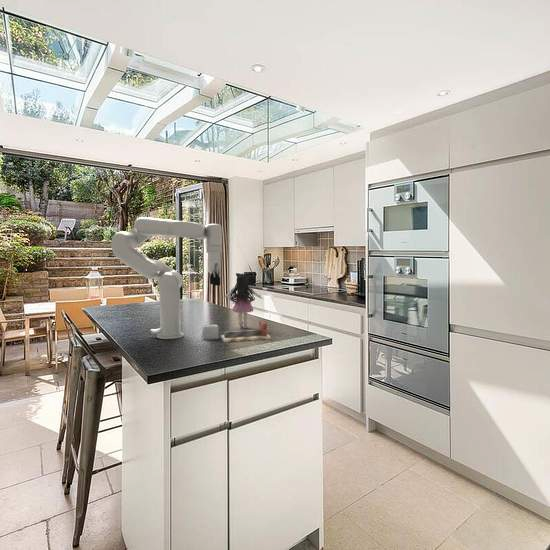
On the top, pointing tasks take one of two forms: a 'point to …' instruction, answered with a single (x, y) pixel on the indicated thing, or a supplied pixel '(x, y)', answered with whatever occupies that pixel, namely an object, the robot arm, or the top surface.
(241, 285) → the figurine
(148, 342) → the top surface
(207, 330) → the lock block
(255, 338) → the board
